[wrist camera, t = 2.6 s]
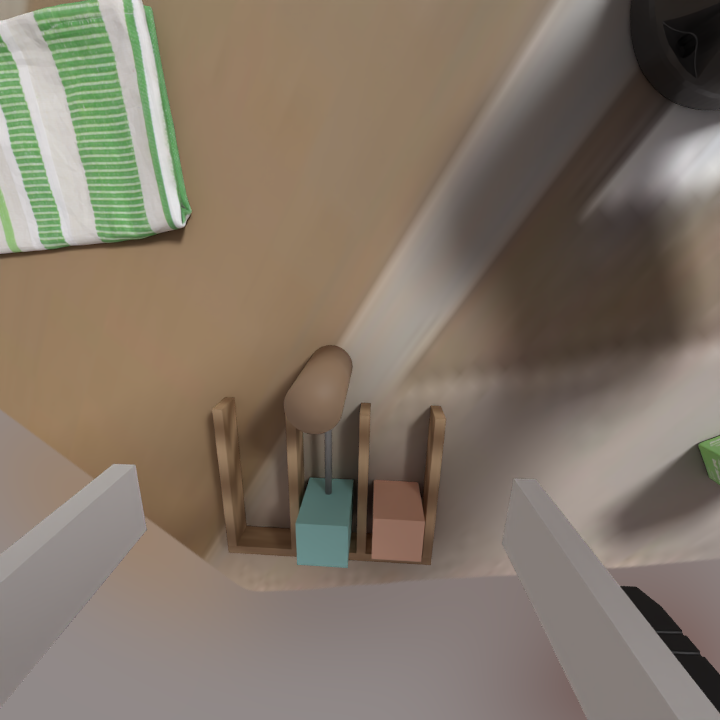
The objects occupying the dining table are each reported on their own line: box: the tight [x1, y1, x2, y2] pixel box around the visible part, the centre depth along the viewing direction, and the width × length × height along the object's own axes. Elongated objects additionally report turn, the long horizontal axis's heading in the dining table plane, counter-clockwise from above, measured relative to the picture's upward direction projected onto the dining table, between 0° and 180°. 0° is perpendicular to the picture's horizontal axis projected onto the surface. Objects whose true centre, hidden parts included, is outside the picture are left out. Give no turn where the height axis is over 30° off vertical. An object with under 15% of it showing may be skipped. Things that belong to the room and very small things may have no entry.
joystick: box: [284, 345, 353, 568], centre depth 32 cm, size 21×5×10 cm, turn 179°
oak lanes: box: [212, 397, 446, 565], centre depth 37 cm, size 18×23×3 cm
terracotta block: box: [372, 480, 425, 562], centre depth 36 cm, size 5×5×6 cm
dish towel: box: [0, 0, 192, 254], centre depth 29 cm, size 18×23×3 cm
